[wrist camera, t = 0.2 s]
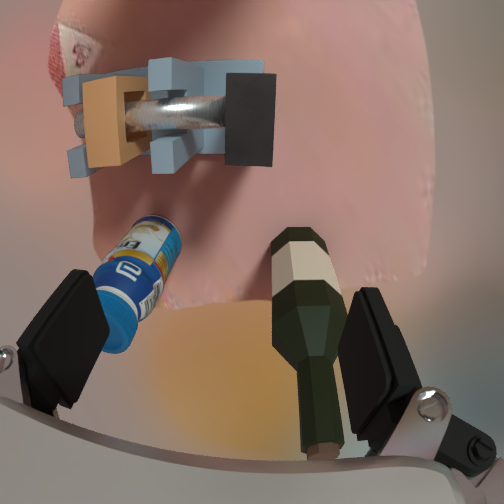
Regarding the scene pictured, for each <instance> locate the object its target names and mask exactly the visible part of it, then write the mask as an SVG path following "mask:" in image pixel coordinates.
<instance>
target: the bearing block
mask: <svg viewBox="0 0 504 504" xmlns="http://www.w3.org/2000/svg"><path fill="white" fill-rule="evenodd" d="M226 73H264V60H209V61H191V62H185V61H182V60H179V59H176V58H173V57H167V58H159V59H151V60H148V66H145V67H138V68H132V69H126V70H120V71H115V72H110V73H105V74H77V75H74V76H70V77H67V78H63V79H62V85H63V106H69V105H75V104H80V103H83V87H82V83H84V82H88V81H93V80H97V79H102V78H107V77H112V76H137V77H148V92H151V99H159V98H172V97H187V96H214V95H226ZM67 154H68V162H69V169H70V175H71V178H80V177H88V176H89V175H91V174H93V173H94V172H96V171H98V170H99V169H101V168H103V167H94V168H89V166H88V158H87V149H86V143H85V144H82V145H80V146H77V147H75V148H73V149H71V150H68V151H67ZM195 154H225V129H176V130H157V131H152V142H150V149H149V150H147V151H145V152H143V153H142V154H140V155H138V156H141V155H151V164H152V174H174V173H175V172H176V171H177V170H178V169H179V168H180V167H182V166H183V165H184V164H185V163H186V162H187V161H188V160H189V159H190V158H191V157H192V156H193V155H195Z"/></svg>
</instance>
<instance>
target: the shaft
mask: <svg viewBox="0 0 504 504" xmlns="http://www.w3.org/2000/svg"><path fill="white" fill-rule="evenodd" d="M275 97H276V74H267V73H226V95H214V96H187V97H172V98H159V99H149V100H140V101H132V102H124V107H125V128H126V133H131V132H143V131H157V130H176V129H225V165H241V166H266V167H272V160H273V140H274V119H275ZM74 126H75V131H76V134H77V135H78V137H80V138H85V127H84V112H83V110H80V111H79V112H78V113H77V115H76V117H75V122H74Z"/></svg>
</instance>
